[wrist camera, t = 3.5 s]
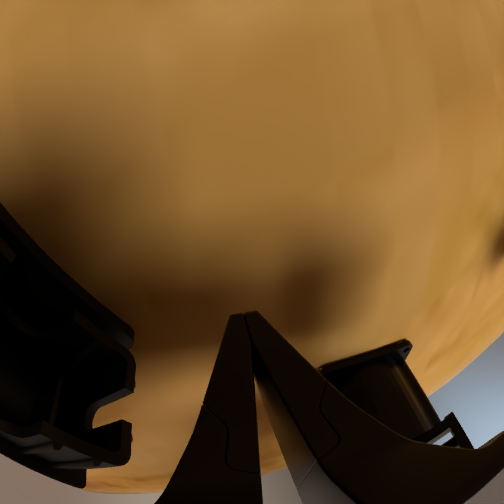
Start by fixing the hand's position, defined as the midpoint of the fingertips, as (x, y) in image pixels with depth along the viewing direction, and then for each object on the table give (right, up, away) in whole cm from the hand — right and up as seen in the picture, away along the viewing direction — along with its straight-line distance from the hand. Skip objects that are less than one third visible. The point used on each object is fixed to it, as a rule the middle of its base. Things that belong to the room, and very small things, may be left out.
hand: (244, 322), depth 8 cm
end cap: (-10, 0, +1) cm, 10 cm away
